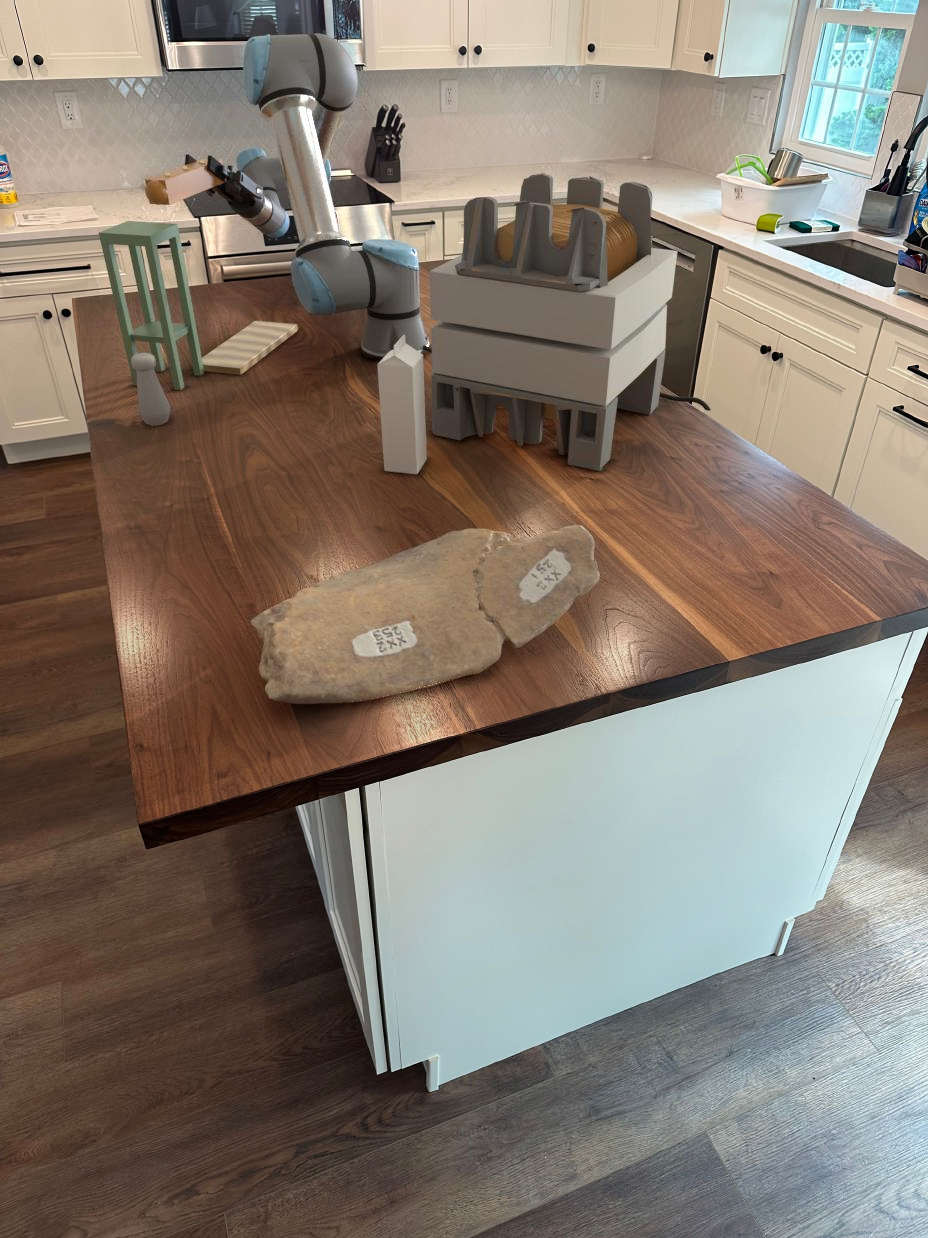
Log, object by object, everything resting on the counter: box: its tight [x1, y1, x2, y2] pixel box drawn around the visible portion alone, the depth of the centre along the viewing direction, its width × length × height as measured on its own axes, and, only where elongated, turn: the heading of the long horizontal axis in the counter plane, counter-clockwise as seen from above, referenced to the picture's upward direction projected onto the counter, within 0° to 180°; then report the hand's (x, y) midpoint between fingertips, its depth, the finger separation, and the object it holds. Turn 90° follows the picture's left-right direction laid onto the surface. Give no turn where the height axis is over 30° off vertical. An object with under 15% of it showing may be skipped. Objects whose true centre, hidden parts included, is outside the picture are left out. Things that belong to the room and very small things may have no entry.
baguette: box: [144, 158, 225, 206], centre depth 184 cm, size 28×4×5 cm, turn 165°
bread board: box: [201, 320, 299, 376], centre depth 204 cm, size 30×11×2 cm, turn 165°
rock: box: [250, 524, 601, 705], centre depth 115 cm, size 45×11×26 cm
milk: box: [376, 335, 428, 475], centre depth 150 cm, size 6×6×22 cm
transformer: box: [429, 172, 678, 472], centre depth 159 cm, size 34×33×41 cm
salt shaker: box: [131, 352, 171, 427], centre depth 168 cm, size 6×6×13 cm
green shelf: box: [98, 220, 205, 391], centre depth 181 cm, size 10×11×30 cm
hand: (197, 161), depth 187 cm, fingers closed on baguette, 4 cm apart
